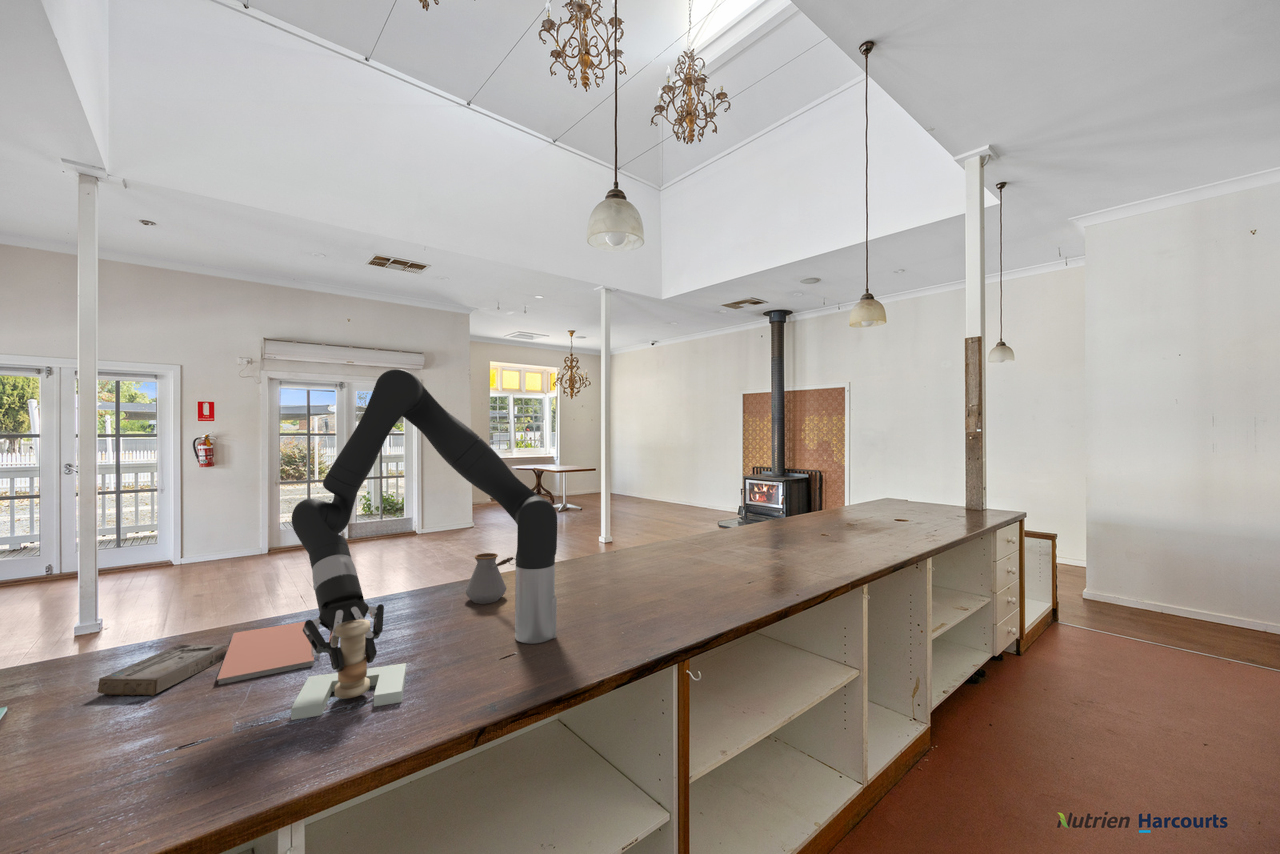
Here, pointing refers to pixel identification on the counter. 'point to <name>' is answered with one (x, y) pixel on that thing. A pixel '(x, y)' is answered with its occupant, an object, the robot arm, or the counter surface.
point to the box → (161, 670)
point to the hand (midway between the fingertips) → (356, 664)
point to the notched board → (322, 686)
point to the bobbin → (352, 659)
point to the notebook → (266, 652)
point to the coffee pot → (487, 579)
